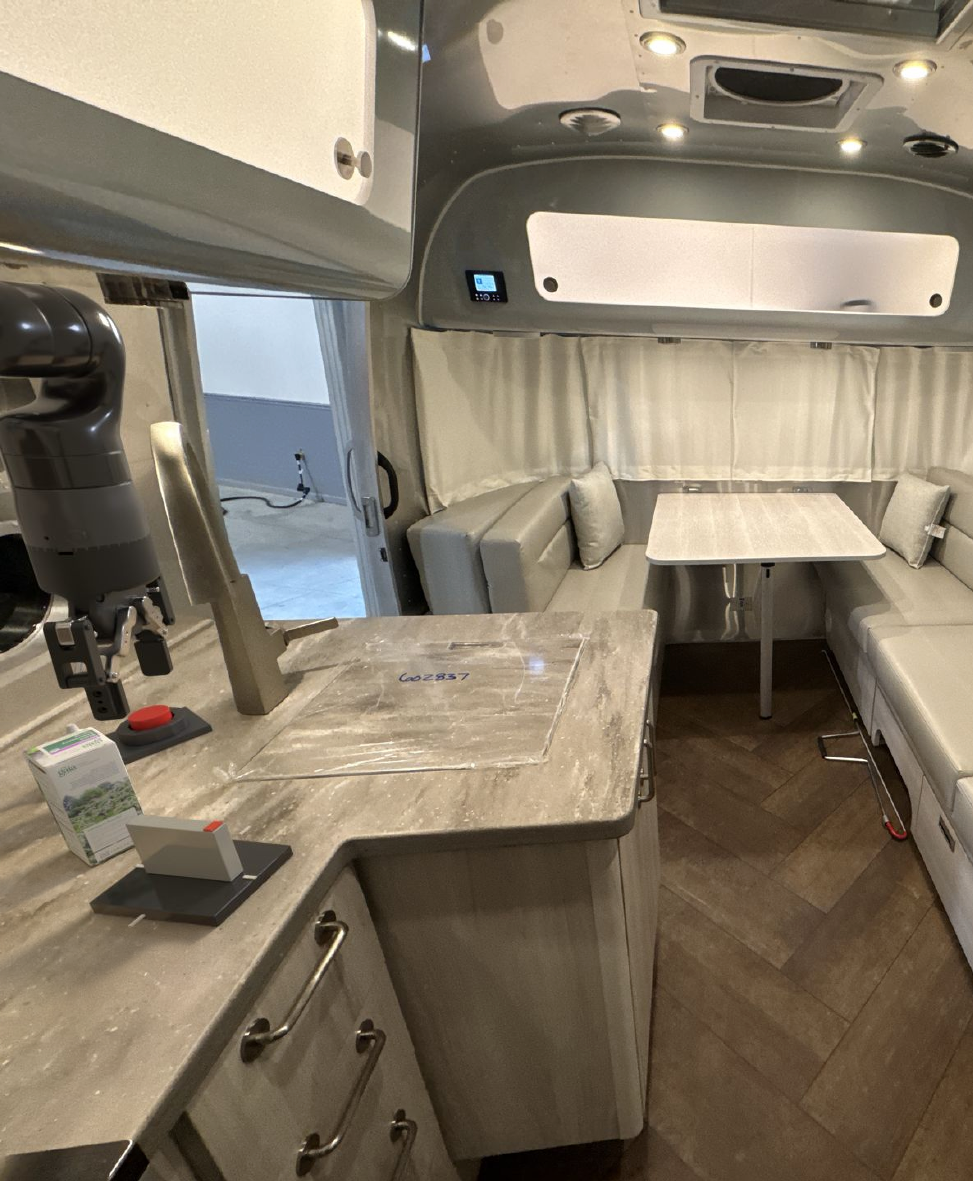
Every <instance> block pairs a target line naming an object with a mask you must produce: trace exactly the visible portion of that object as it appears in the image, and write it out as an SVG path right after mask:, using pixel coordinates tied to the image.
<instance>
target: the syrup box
mask: <svg viewBox="0 0 973 1181" xmlns="http://www.w3.org/2000/svg"><path fill="white" fill-rule="evenodd" d="M82 729H83V730H80V731H78V732H75V733H72V734H69V735H67V736H64V737H62V736H61V737H58V738H56V739H53V740H50V741H47V742H44V743H42V744H40V745H37V746H34V747H31V748H29V749H26V750H23V751H22V755H23V757H24V759H25V762H26V764H27V766H28V768H29V770H30V771H31V774H32V776H33V779H34V780H35V782H36V784H37V786H38V788H39V790H40V792H41V794H42V797H43V799H44V800H45V803H46V804H47V807H48V808H49V811H50V813H51V815H52V817H53V819H54V821H55V823H56V825H57V827H58V830H59V832H60V834H61V837H62V838H63V840H64V842H65V844H66V846H67V848H68V850H70V852H72V853H73V854H75V855H76V856H77V857H79V859H81V860H82V861H83V862H84V863H86V864H87V865H88V866H90V868H93V867H95V866H98V865H100V864H102V863H104V862H105V861H107V860H109V859H111V858H113V857H116V856H117V855H120V854H121V853H123V852H125V851H127V850H130V849H131V848H133V847H135V845H134V843H133V841H132V839H131V836H130V834H129V832H128V830H127V827H126V825H125V824H126V823H128V822H129V821H131V820H132V819H134V818H135V817H136V816H138V815H139V814H143V815H146V814H145V812H144V810H143V807H142V805H141V803H140V800H139V797H138V796H137V793H136V790H135V788H134V785H133V783H132V781H131V778H130V775H129V773H128V771H127V768H126V765H124V763H123V760H122V758H121V755H120V753H119V750H118V748H117V746H116V743H115V742H114V741H112V740H110V739H109V738H107V737H106V736H105V735H106V734H104V733H102V732H101V731H99V730H98V729H95V728H94V727H93V726H89V727H86V728H82Z"/></svg>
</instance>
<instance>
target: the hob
mask: <svg viewBox="0 0 973 1181" xmlns="http://www.w3.org/2000/svg"><path fill="white" fill-rule="evenodd" d="M251 828H252V825H247V826H246V827H244V829H243V830H241V831H240V832H239V833H238V836H243V835H244V834H245V833H246V832H248V831H249V830H250V829H251ZM232 841H233V843H234V846H235V849H236V852H237V854H238V857H239V860H240V862H241V865H242V868H243V872H242V873H240V874H239V875H238V876H237V877H236V878H235V879H234V880H233V881H231V882H230V881H220V880H211V879H201V878H191V877H182V876H172V875H163V874H153V873H147V872H146V870H145V868H144V866H143V863H142V862H141V863H136V864H135V865H133V867H134V868H133V869H132V870H130V871H129V872H128V873H126V874H125V875H124V876H122V877H121V878H120V879H119V880H117V881H116V882H115V883H113V884H112V885H111V886H109V887H107V889H105V890H104V891H103V892H101V893H100V894H99V895H97V896H96V897H94V899H92V900H91V901H89V903H88V904H89V907H90V908H91V910H92V912H93V914H98V915H108V916H110V915H111V916H118V917H127V918H136V919H134V920H133V921H132V922H131V923H129V924H128V925H127V927H128V928H133V926H135V925H137V923H139V922H140V921H141V920H142V919H146V920H155V921H164V922H173V923H181V924H182V923H183V924H190V925H192V924H193V925H202V926H211V927H219V926H220V925H222V923H223V922H224V921H226V919H228V918H229V917H230V916H231V915H232V914H233V913H234V912H235V911H236V910H237V909H239V907H240V906H241V905H242V904H243V903H244V902H246V901H247V900H248V898H249V897H251V896H252V895H253V894H254V893H256V891H257V890H258V889H259V888H261V886H263V885H264V883H265V882H267V880H269V879H270V878H271V877H272V876H273V875H274V874H275V873H277V871H278V870H279V869H280V868H281V867H282V866H283V865H285V864H286V862H287V861H288V860H290V858H292V857H293V856H294V852H293V849H292V845H290V844H281V843H272V842H261V841H253V840H252V841H251V840H241V839H233V838H232Z"/></svg>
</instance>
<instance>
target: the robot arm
mask: <svg viewBox="0 0 973 1181" xmlns="http://www.w3.org/2000/svg"><path fill="white" fill-rule="evenodd" d="M124 342H125V341H124V339H123V336H122V333H121V332H120V330H119V328H118V326H117V324H116V322H115V321H114V320H113V318H112V316H111V315H110V314H109V313H108V312H107V311H106V309H104V307H103V306H102V305H101V304H100V303H98V302H97V301H95V300H94V299H93V298H91V297H90V296H89V295H86V294H85V293H83V292H80V291H78V290H76V289H73V288H68V287H63V286H58V285H57V286H56V285H49V284H40V283H38V284H37V283H28V282H27V283H26V282H18V281H10V280H9V281H8V280H0V379H40V380H39V386H38V392H37V395H36V398H35V399H34V400H33V401H32V402H31V403H28V404H26V405H22V406H19V407H17V408H12V409H10V410H7V411H3V412H1V413H0V460H1V461H2V465H3V469H4V471H5V475H6V477H7V480H8V483H9V487H10V490H11V496H12V504H13V510H14V515H15V518H16V522H17V525H18V527H19V531H20V533H21V537H22V540H23V542H24V545H25V548H26V551H27V554H28V557H29V561H30V563H31V566H32V569H33V573H34V575H35V578H36V581H37V585H38V587H39V588H40V589H41V590H42V591H43V592H45V593H47V594H50V595H56V596H59V597H61V598H63V599H64V600H66V601H67V618H66V619H64V620H57V621H45V622H44V624H43V625H42V634H43V637H44V640H45V643H46V647H47V650H48V653H49V656H50V660H51V663H52V667H53V670H54V673H55V677H56V680H57V684H58V687H59V688H60V689H61V690H72V689H80V688H83V689H84V692H85V695H86V698H87V702H88V704H89V707H90V711H91V713H92V716H93V718H94V719H95V720H96V721H98V722H105V721H107V722H108V721H118V720H123V719H125V718H126V717H127V716H129V714H131V708H130V705H129V701H128V698H127V696H126V692H125V688H124V685H123V682H122V678H120V671H121V670H120V669H121V661H122V659H123V658H126V657H127V656H128V655H129V653H130V646H131V640H133V641H134V643H133V647H134V651H135V654H136V657H137V660H138V664H139V667H140V668H139V669H140V670H141V673H142V674H141V675H143V676H145V677H159V676H160V677H161V676H167V675H170V674H171V673H172V671H174V664H173V661H172V657H171V654H170V650H169V647H168V643H167V638H168V637H169V635H170V630H169V628H168V626H175V623H176V616H175V612H174V609H173V606H172V602H171V599H170V596H169V592H168V589H167V586H166V583H165V580H164V575H163V574H162V571H161V567H160V564H159V560H158V557H157V552H156V549H155V546H154V542H153V541H154V540H153V538H152V534H151V530H150V526H149V522H148V519H147V514H146V510H145V508H144V504H143V501H142V499H141V496H140V495H139V492H138V490H137V488H136V486H135V483H134V481H133V478H132V473H131V469H130V466H129V463H128V462H129V461H128V458H127V455H126V451H125V447H124V444H123V441H122V438H121V423H122V417H123V416H122V415H123V411H124V410H123V408H124V393H125V383H126V372H127V353H126V352H127V351H126V346H125V343H124ZM156 607H158V608H159V610H158V609H157V608H156ZM109 645H110V646H109ZM98 646H100V647H98ZM102 659H105V663H104V664H105V665H104V664H103V662H102ZM72 664H75V665H74V671H73V666H72Z"/></svg>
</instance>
